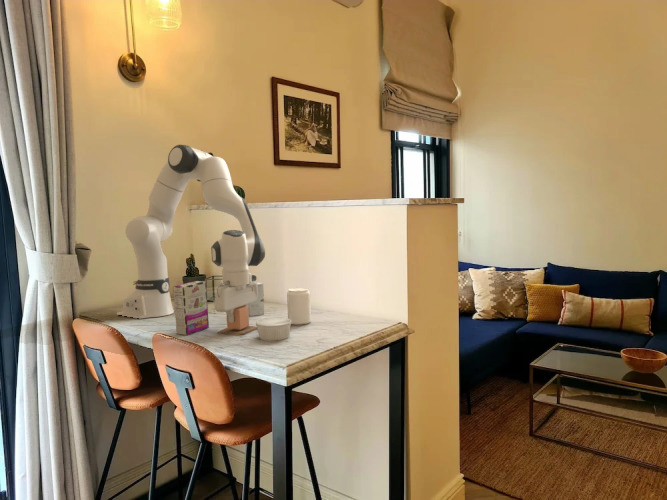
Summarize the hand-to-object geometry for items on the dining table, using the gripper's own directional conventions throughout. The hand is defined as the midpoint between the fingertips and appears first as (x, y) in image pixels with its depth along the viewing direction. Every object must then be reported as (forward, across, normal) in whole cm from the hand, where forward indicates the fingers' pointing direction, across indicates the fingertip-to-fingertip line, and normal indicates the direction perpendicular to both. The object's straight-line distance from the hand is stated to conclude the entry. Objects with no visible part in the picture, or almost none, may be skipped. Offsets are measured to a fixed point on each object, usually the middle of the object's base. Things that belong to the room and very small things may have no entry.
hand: (237, 319), depth 172 cm
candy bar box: (+4, -5, +15) cm, 16 cm away
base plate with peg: (+4, 0, 0) cm, 4 cm away
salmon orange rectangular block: (+2, 0, 0) cm, 2 cm away
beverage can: (+4, +16, -15) cm, 22 cm away
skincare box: (+4, +24, +8) cm, 26 cm away
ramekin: (+4, -4, -16) cm, 17 cm away
